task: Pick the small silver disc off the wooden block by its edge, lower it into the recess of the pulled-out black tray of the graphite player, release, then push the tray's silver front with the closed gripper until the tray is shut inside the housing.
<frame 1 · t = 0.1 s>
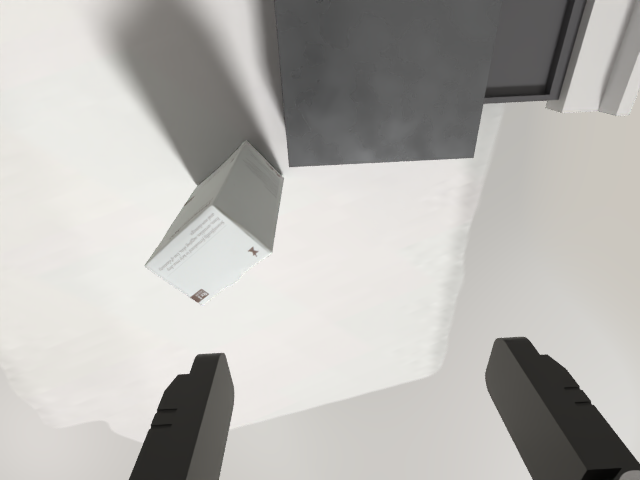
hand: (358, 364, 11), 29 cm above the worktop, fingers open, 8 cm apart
skincare box: (240, 183, 38), on the worktop
tray: (536, 20, 29), point 3 cm above the worktop, slide at 11.0 cm
housing: (372, 29, 31), on the worktop
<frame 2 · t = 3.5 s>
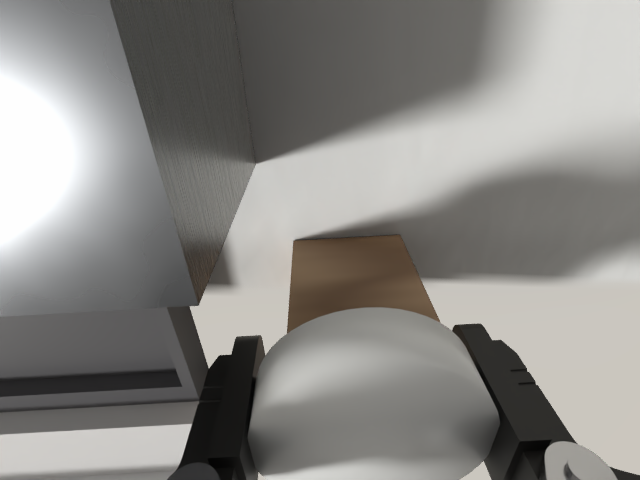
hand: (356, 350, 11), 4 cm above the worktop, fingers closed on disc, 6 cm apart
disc: (363, 388, 10), point 5 cm above the worktop, touching gripper, wooden block
wooden block: (347, 280, 14), on the worktop
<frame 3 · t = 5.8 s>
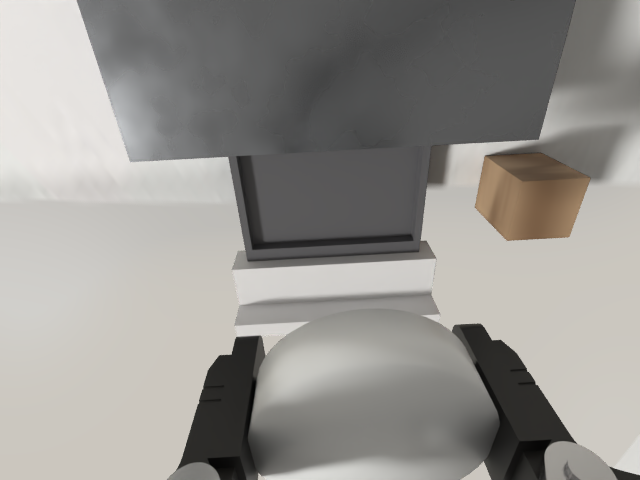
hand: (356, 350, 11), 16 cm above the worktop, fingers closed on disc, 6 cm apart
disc: (363, 389, 10), point 18 cm above the worktop, touching gripper
tray: (332, 209, 24), point 3 cm above the worktop, slide at 11.0 cm
wooden block: (506, 181, 26), on the worktop
when the fingers open (1 cm above the worktop, at t = 8.5 s): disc drops 2 cm, resting on tray.
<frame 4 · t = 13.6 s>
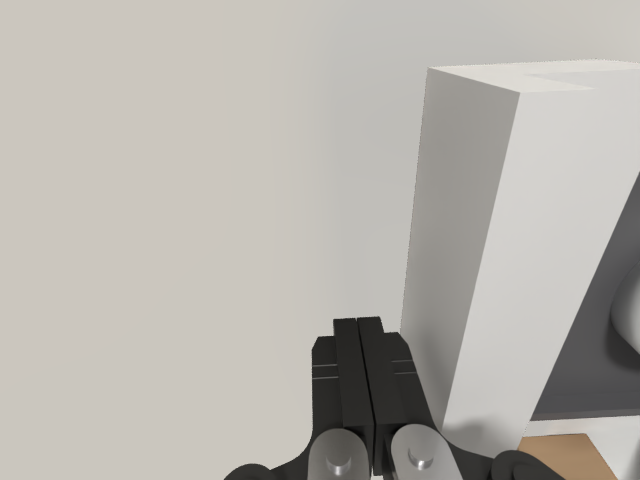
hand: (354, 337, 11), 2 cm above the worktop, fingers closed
wooden block: (539, 455, 20), on the worktop
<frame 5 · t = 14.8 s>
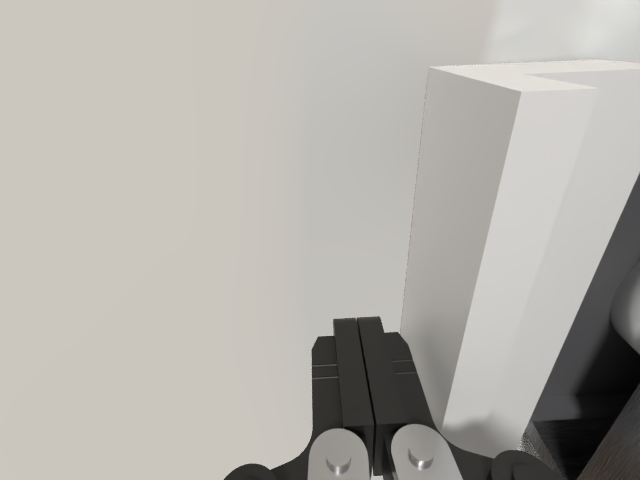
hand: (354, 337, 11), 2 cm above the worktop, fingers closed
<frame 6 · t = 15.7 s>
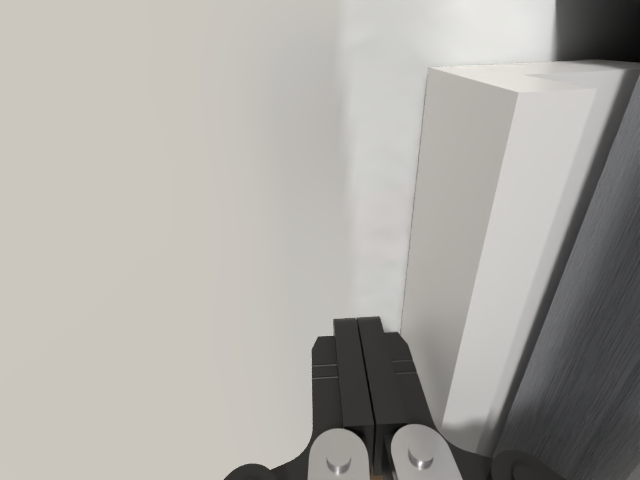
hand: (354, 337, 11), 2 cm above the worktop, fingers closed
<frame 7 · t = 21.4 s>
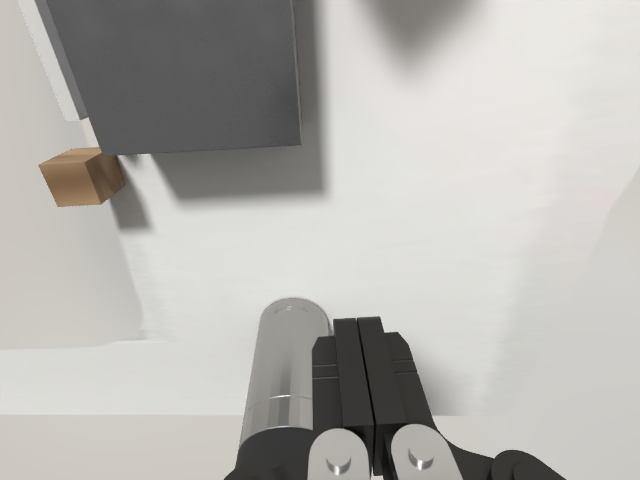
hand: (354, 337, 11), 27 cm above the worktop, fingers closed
tray: (159, 7, 27), point 3 cm above the worktop, slide at 0.0 cm, touching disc
wooden block: (99, 167, 36), on the worktop
housing: (197, 8, 29), on the worktop
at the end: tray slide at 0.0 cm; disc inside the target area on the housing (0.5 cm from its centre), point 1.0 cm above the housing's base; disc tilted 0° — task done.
